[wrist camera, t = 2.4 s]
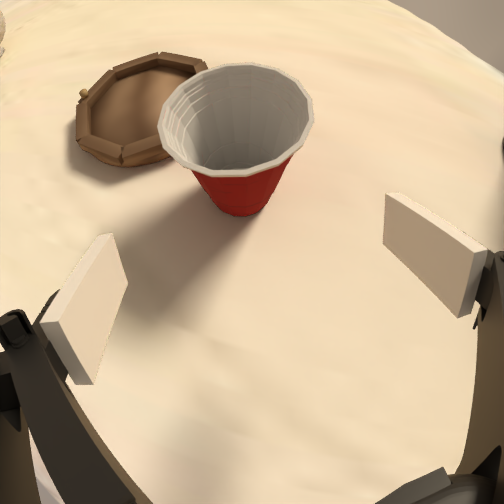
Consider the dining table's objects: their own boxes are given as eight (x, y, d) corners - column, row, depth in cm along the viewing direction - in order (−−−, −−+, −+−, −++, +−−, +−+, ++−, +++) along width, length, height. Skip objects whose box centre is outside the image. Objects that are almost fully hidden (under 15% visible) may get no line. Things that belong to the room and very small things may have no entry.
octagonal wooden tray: (197, 55, 38) (195, 36, 35) (233, 138, 33) (231, 116, 30) (84, 94, 36) (75, 76, 33) (87, 188, 31) (72, 171, 28)
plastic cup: (181, 155, 33) (156, 71, 21) (281, 142, 33) (293, 55, 22) (188, 251, 29) (153, 185, 18) (304, 234, 30) (335, 161, 18)
